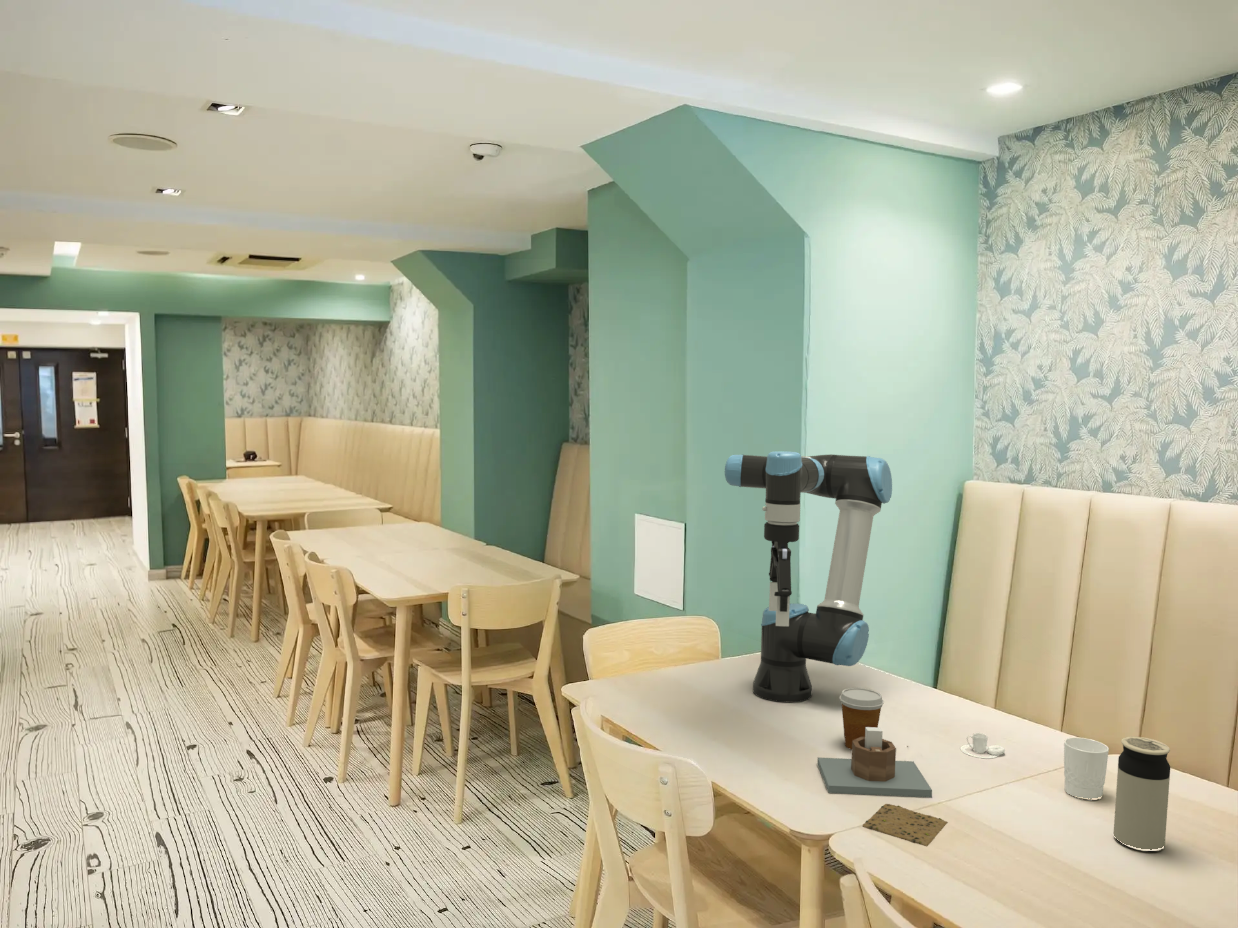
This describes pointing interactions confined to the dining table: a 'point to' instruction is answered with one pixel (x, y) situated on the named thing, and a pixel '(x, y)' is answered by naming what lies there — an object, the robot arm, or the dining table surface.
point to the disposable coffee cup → (859, 712)
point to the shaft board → (844, 781)
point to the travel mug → (1142, 793)
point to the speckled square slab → (905, 824)
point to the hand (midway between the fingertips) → (778, 618)
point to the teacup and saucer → (982, 746)
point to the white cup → (1085, 767)
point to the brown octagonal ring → (873, 760)
